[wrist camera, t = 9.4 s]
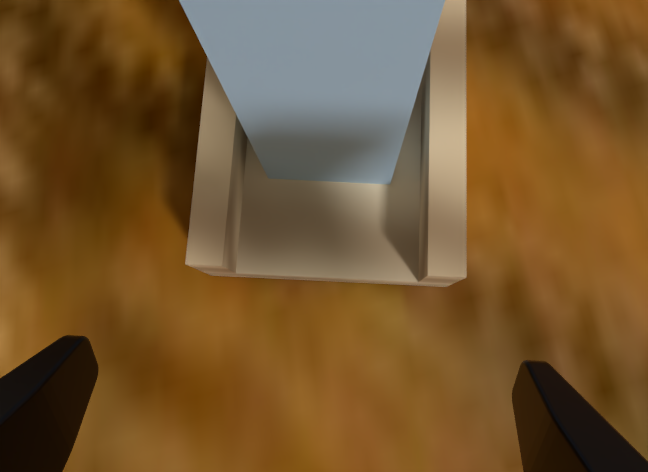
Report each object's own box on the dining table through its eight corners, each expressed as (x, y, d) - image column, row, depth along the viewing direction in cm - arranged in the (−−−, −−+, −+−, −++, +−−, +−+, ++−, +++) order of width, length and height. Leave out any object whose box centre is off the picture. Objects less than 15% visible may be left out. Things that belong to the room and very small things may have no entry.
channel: (446, 286, 19) (495, 264, 13) (211, 275, 19) (149, 248, 13) (448, -55, 21) (488, -210, 15) (243, -58, 22) (203, -209, 16)
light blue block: (390, 184, 18) (481, -122, 6) (268, 178, 18) (115, -128, 6) (395, 59, 19) (483, -426, 7) (279, 55, 19) (165, -421, 7)
